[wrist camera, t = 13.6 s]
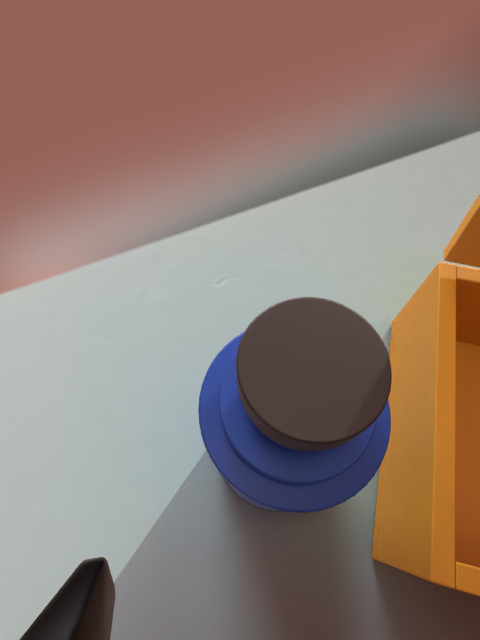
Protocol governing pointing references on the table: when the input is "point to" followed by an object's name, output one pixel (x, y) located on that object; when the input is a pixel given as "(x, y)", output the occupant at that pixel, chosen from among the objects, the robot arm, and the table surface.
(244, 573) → the table surface
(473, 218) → the lunchbox lid
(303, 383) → the bottle
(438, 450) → the box
